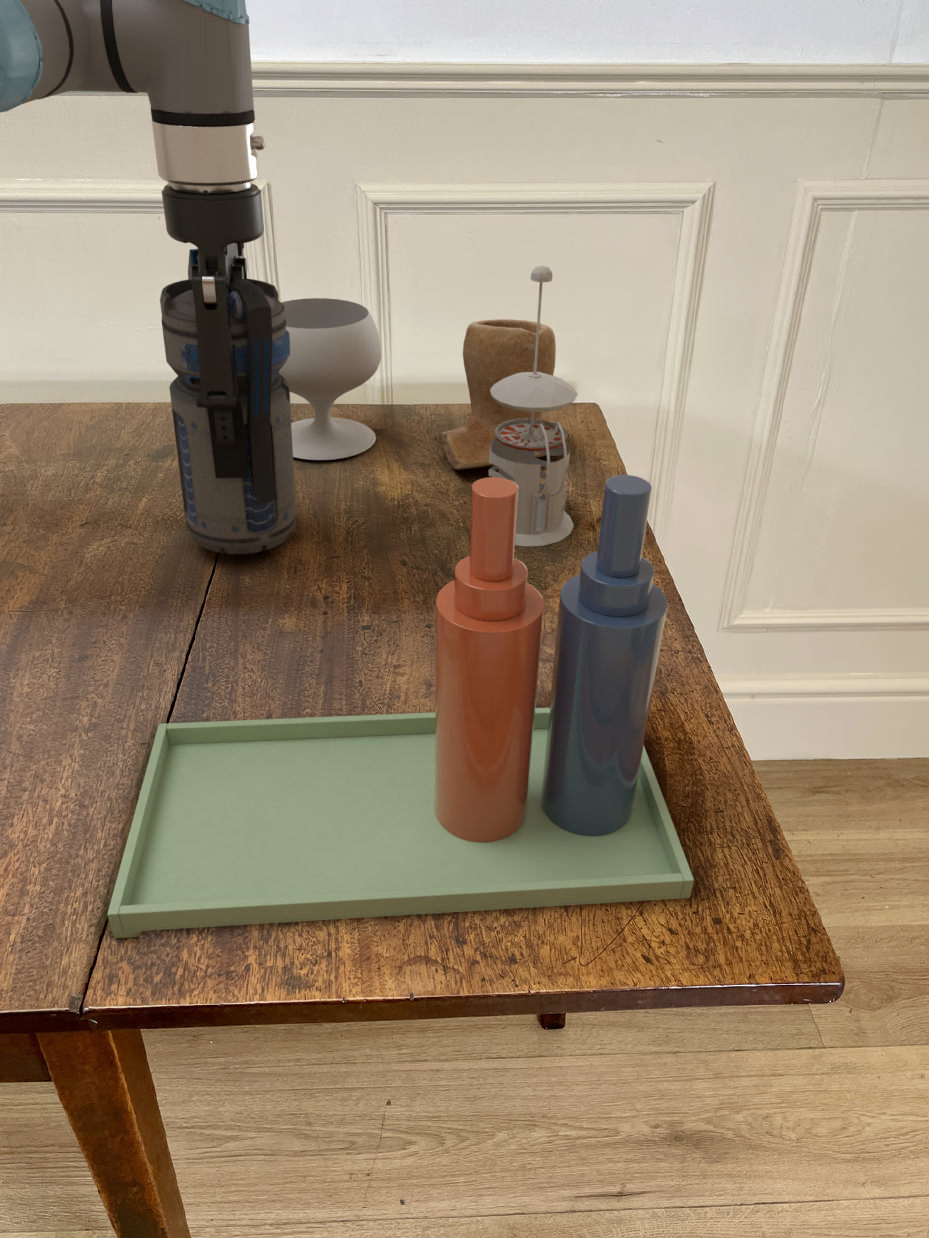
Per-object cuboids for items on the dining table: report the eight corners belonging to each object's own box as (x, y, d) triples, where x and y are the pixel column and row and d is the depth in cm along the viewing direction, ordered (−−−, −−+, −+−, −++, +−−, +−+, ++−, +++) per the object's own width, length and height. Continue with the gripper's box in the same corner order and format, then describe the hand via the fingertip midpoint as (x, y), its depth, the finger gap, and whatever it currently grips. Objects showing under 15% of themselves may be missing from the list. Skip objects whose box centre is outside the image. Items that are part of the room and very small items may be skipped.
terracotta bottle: (437, 845, 58) (441, 515, 46) (431, 777, 63) (433, 463, 51) (533, 839, 59) (563, 512, 46) (519, 773, 64) (543, 461, 51)
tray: (113, 938, 53) (106, 914, 52) (163, 746, 66) (158, 723, 65) (688, 903, 56) (694, 880, 55) (625, 726, 69) (628, 703, 68)
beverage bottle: (224, 583, 82) (194, 288, 68) (168, 522, 91) (132, 250, 77) (327, 554, 87) (319, 275, 74) (265, 500, 96) (247, 241, 83)
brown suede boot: (529, 425, 116) (537, 301, 108) (579, 462, 108) (592, 331, 99) (416, 443, 111) (415, 315, 103) (459, 484, 102) (462, 347, 94)
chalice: (271, 472, 103) (257, 336, 95) (257, 424, 115) (244, 298, 106) (395, 460, 107) (393, 328, 99) (370, 414, 118) (366, 292, 110)
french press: (551, 495, 100) (572, 250, 86) (597, 547, 91) (628, 282, 77) (464, 506, 98) (470, 255, 84) (501, 561, 89) (515, 289, 75)
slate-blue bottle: (548, 839, 59) (583, 512, 46) (534, 772, 64) (561, 461, 51) (642, 834, 60) (702, 509, 47) (620, 768, 65) (669, 459, 52)
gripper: (245, 214, 64) (271, 507, 76) (271, 161, 82) (289, 403, 95) (131, 212, 63) (176, 508, 75) (183, 158, 82) (212, 403, 94)
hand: (239, 450), depth 85 cm, fingers closed on beverage bottle, 10 cm apart
